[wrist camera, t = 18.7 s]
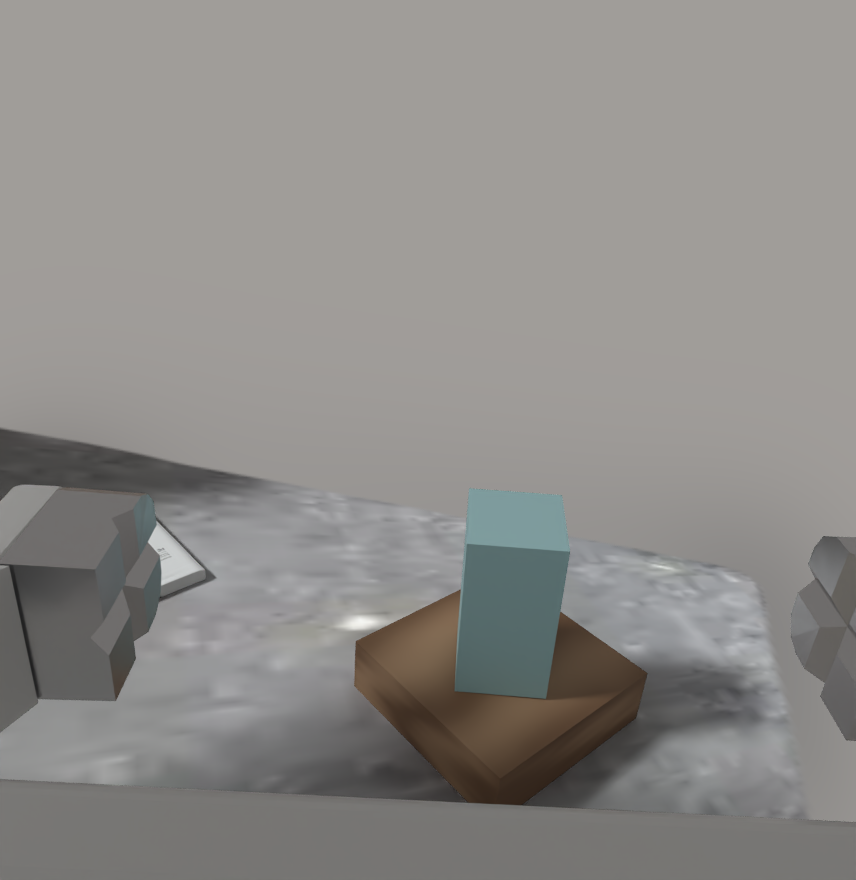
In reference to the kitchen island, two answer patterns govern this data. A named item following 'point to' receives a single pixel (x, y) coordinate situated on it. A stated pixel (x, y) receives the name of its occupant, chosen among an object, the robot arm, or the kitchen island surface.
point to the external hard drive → (174, 562)
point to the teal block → (510, 592)
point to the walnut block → (495, 705)
